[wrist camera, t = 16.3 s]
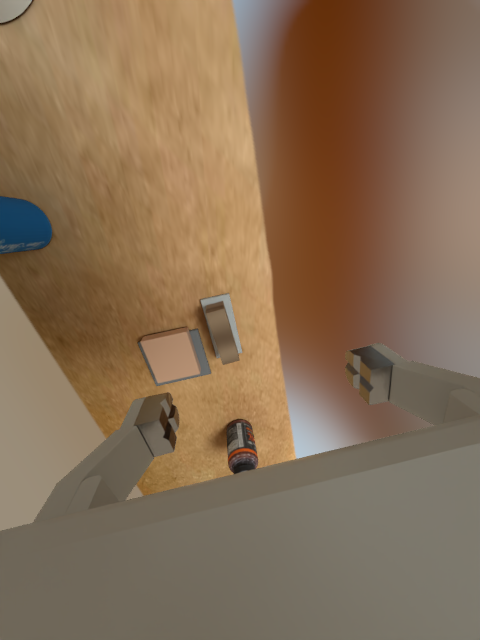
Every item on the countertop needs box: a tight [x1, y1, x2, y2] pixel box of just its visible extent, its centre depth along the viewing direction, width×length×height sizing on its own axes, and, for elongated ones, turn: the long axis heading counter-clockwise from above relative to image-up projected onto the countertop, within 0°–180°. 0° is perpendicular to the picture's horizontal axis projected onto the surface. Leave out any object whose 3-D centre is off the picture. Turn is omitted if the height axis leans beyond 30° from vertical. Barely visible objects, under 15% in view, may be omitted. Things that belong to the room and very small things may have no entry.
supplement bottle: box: [227, 420, 258, 474], centre depth 46 cm, size 6×6×11 cm
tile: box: [140, 327, 201, 383], centre depth 40 cm, size 2×8×9 cm
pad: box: [201, 293, 242, 358], centre depth 40 cm, size 12×5×1 cm, turn 11°
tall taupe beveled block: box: [206, 301, 239, 365], centre depth 38 cm, size 10×3×4 cm, turn 14°
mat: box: [138, 329, 211, 386], centre depth 42 cm, size 10×11×1 cm
